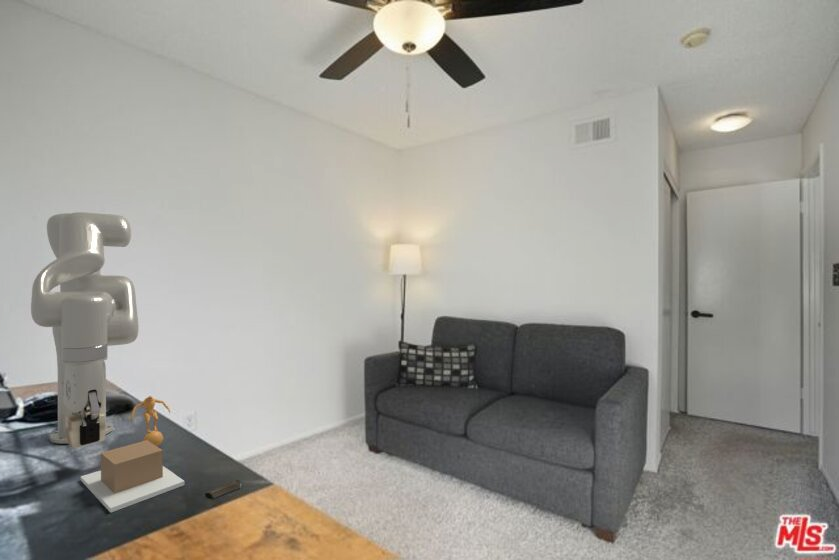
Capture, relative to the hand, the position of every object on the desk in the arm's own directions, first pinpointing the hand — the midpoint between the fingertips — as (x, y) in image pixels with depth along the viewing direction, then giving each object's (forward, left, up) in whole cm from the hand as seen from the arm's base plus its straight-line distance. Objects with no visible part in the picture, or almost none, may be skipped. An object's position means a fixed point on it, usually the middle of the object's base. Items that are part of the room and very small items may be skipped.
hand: (85, 437), depth 88 cm
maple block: (0, 0, -1) cm, 1 cm away
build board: (+15, +4, -6) cm, 17 cm away
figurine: (-1, +13, -7) cm, 15 cm away
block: (+32, +14, -7) cm, 35 cm away
